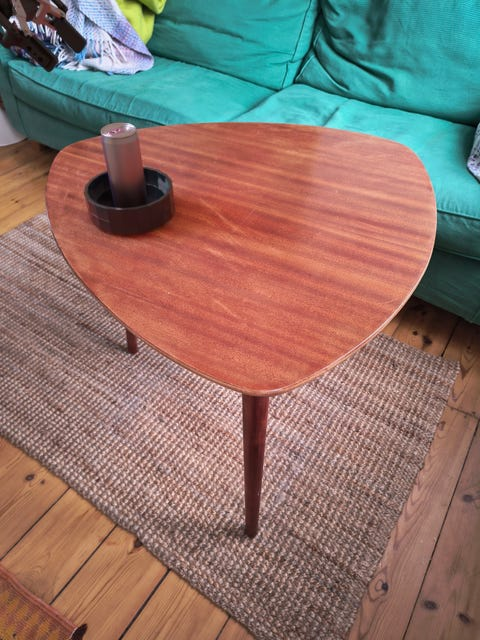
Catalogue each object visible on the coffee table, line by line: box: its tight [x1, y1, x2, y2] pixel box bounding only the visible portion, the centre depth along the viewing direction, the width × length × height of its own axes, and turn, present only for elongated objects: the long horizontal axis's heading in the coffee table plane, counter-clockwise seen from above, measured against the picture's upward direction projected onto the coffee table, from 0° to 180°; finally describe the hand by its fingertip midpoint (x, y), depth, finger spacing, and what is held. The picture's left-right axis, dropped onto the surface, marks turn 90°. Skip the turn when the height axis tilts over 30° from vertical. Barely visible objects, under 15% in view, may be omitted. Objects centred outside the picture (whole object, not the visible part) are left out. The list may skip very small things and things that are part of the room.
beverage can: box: [100, 122, 148, 208], centre depth 80 cm, size 6×6×15 cm
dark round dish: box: [83, 166, 176, 236], centre depth 84 cm, size 15×15×6 cm
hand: (69, 57), depth 62 cm, fingers open, 8 cm apart
